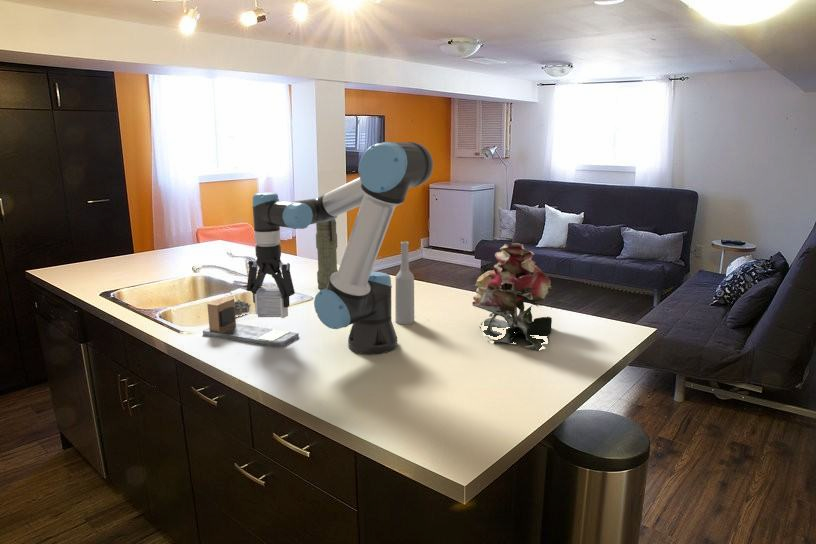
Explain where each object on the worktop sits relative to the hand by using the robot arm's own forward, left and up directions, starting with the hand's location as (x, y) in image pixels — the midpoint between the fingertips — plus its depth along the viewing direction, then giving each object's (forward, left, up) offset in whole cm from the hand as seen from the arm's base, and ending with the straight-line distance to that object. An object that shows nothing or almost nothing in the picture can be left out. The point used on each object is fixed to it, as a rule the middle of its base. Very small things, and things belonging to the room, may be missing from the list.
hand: (271, 314), depth 175 cm
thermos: (+17, -62, -9) cm, 65 cm away
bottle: (-31, -33, -9) cm, 46 cm away
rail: (+9, 0, -8) cm, 12 cm away
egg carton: (+30, -18, -9) cm, 36 cm away
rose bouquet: (-68, -35, -9) cm, 77 cm away
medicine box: (0, 0, 0) cm, 0 cm away
